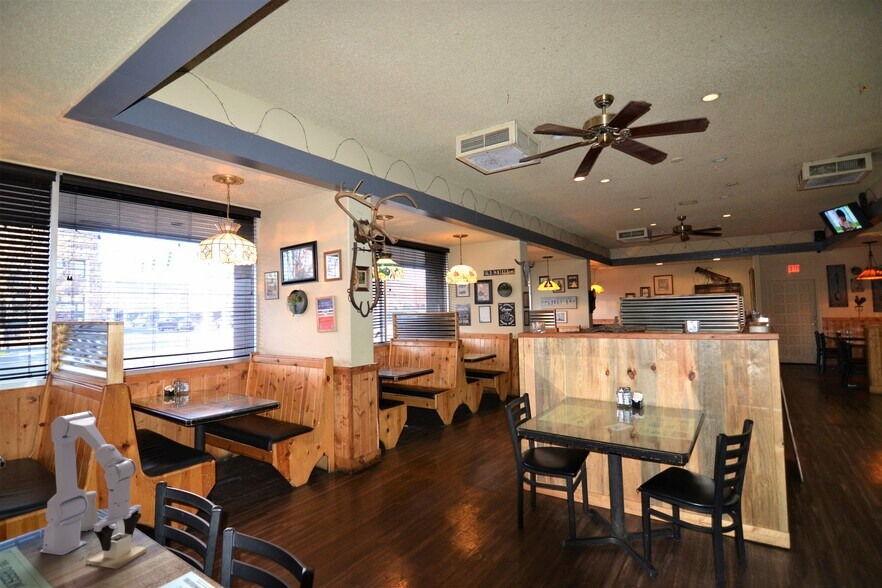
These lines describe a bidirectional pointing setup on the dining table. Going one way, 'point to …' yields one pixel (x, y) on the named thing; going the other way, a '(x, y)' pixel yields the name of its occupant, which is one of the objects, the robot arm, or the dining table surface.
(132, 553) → the roll holder
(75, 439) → the robot arm
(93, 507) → the salt shaker
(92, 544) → the dining table surface
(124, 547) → the hollow square tube
